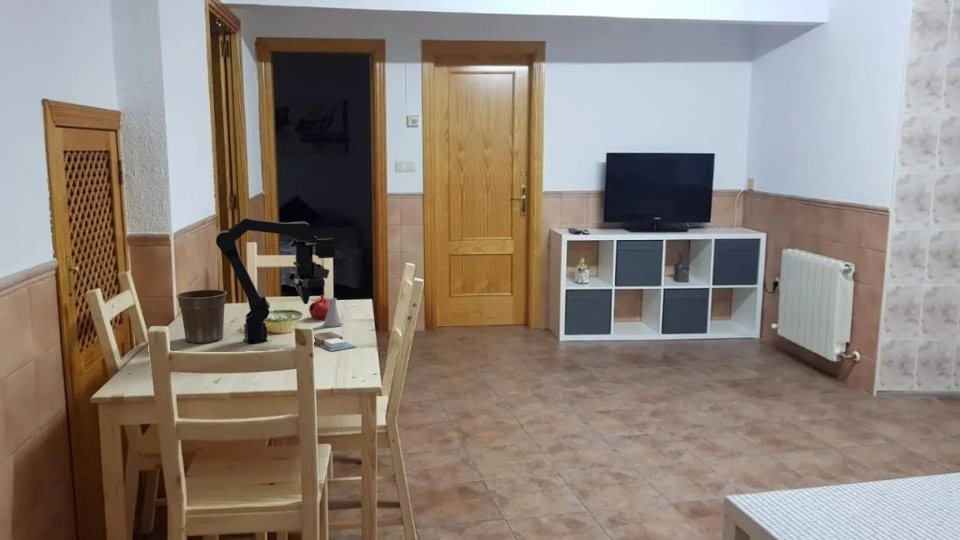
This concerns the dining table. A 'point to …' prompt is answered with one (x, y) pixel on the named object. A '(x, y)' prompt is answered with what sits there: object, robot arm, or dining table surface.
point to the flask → (332, 315)
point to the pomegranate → (319, 308)
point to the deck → (325, 337)
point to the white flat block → (334, 343)
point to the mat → (338, 347)
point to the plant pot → (202, 314)
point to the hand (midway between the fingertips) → (305, 303)
